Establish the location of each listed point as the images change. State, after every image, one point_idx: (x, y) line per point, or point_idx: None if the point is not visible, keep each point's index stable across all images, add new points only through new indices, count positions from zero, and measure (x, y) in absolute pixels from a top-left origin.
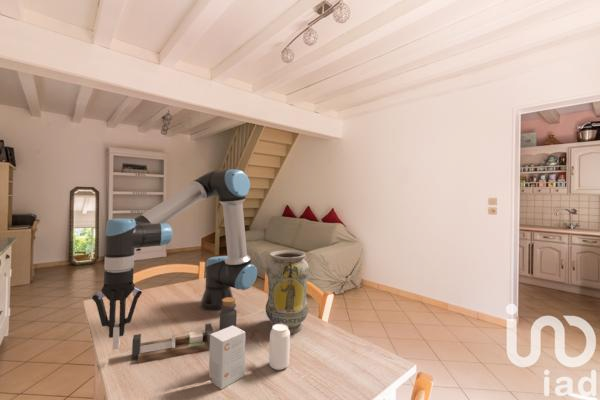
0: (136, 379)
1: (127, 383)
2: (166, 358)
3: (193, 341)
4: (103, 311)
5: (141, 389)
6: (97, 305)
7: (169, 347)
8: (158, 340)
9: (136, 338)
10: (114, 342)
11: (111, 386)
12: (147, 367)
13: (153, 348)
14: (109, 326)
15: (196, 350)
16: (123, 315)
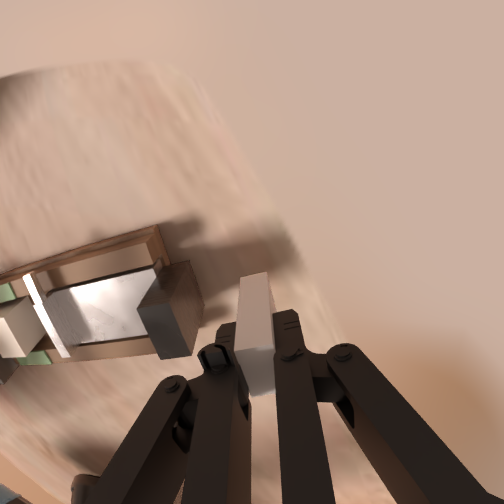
0: (129, 142)
1: (151, 119)
2: (69, 253)
3: (5, 310)
4: (385, 442)
5: (93, 86)
6: (464, 478)
7: (62, 295)
8: (128, 355)
9: (157, 317)
10: (259, 290)
11: (204, 104)
12: (120, 218)
13: (114, 299)
14: (300, 347)
15: (3, 280)
16: (200, 423)
